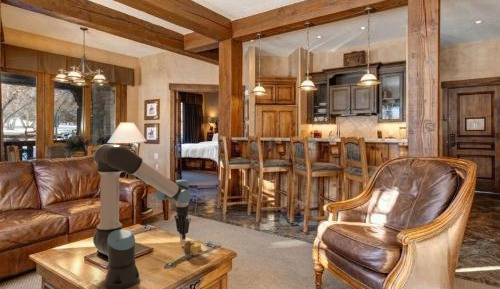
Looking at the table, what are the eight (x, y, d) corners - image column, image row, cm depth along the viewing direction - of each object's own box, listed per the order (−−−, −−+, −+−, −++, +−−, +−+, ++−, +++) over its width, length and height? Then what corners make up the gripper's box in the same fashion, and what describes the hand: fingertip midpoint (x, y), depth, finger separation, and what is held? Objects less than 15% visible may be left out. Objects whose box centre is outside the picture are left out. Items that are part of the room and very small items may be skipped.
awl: (187, 261, 167) (187, 243, 166) (183, 259, 169) (183, 242, 169) (192, 259, 170) (191, 241, 169) (188, 257, 172) (187, 240, 171)
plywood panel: (201, 260, 168) (201, 258, 168) (180, 252, 179) (180, 250, 179) (219, 252, 179) (219, 250, 179) (199, 245, 190) (199, 243, 190)
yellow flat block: (193, 253, 175) (193, 247, 175) (184, 249, 181) (184, 244, 180) (201, 249, 180) (201, 244, 180) (192, 246, 185) (192, 241, 185)
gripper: (194, 206, 184) (194, 244, 185) (180, 202, 192) (180, 239, 193) (184, 208, 178) (184, 248, 179) (170, 205, 186) (170, 243, 187)
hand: (182, 243), depth 186 cm, fingers closed
